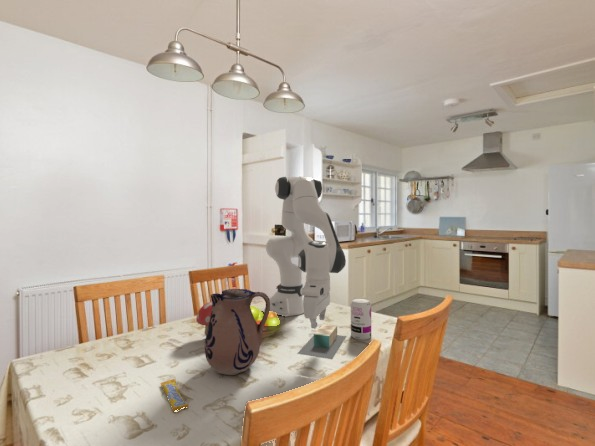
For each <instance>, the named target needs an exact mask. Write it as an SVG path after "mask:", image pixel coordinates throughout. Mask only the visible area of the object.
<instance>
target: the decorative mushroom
mask: <svg viewBox="0 0 595 446" xmlns="http://www.w3.org/2000/svg"><path fill="white" fill-rule="evenodd" d="M211 313H212V301H209V302H206V303H205V304H203V305H202V306H201V307H200V308H199V309H198V311H197V315H196V318H195V321H196V322H197V324H199V325H201V326H205V327H204V335H205V336H206V335H207V330H208V326H209V322H210V317H211Z"/></svg>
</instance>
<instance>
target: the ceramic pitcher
mask: <svg viewBox="0 0 595 446" xmlns="http://www.w3.org/2000/svg"><path fill="white" fill-rule="evenodd" d="M256 297H260V298H262V300H264V302H265V306H266V307H265V306H264V307H265V313H263V316H262V317H261V320H260V322H259V323H258V322H257V321H256V319H255V316H254V314H253V312H252V309H251V305H252V301H253V300H254V298H256ZM269 298H270V297H269V295H267V293H265V292H263V291H262V292H261V291H251V290H250V289H246V288H245V289H243V288H230V289H225V290H222V291H221V293H212V294H210V299H211V300H210V301H211V302H212V313H211V317H210V322H209V326H208V330H207V335H205V342H204V355H205V358H206V361H207V363H208V365H209V367H211V368H212V369H213V370H214V371H215V372H217V373H218V374H221V375H225V376H234V375H235V376H236V375H238V374H241V373H243V372H245V371H248V370H249V368H250V367H251V366H253V364H254V363H255V362H256V360H257V358H258V356H259V353H260V348H261V345H262V343H263V339H264V338H263V337H264V336H263V332H264V331H263V330H264V328H265V325H266V323H267V320H268V318H269V315H270V314H269V311H270V300H269Z"/></svg>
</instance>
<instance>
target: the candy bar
mask: <svg viewBox="0 0 595 446" xmlns="http://www.w3.org/2000/svg"><path fill="white" fill-rule="evenodd" d="M176 382H177V380H176V378H173V379H169V380H166V381H163V382H160V386H161V387H162V386H163V387H162V390H163V389H164V390H163V391H165V392H164V394H165V393H166V394H165V396H166V395H167V396H168V398H167V400H168V399H169V401H170V403H171V405H170V407H171V406H172V408H173V410H172V412H173V411H175V410H177V409H178V410H180V409H181V408H183V407H185V408H186V407H188V408H189V404H188V403H187V404H186V402H185V400H184V398H183V397H182V395H181V393H180V390H179V388H178V385H177V384H176ZM167 396H166V397H167ZM169 401H168V402H169ZM170 403H169V404H170ZM172 408H171V409H172ZM178 410H177V411H178Z"/></svg>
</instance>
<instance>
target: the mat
mask: <svg viewBox="0 0 595 446" xmlns="http://www.w3.org/2000/svg"><path fill="white" fill-rule="evenodd" d="M346 338H347V335H340V334H337V338H336V339H335V341H334V342H333V343H332V345H331V346H330V348H324V347H318V346H314V334H313V336H311V337H310V339H309V340H308V341H307V342H306V343H305V345H304V346H303V347H301V348H300V350H299V351H298V352H297V353H296V354H297V355H303V356H304V355H306V356H309V357H310V356H311V357H316V358H322V359H327V360H333V359H334V357H335V356H336V354H337V353H338V351H339V350H340V348H341V346H342V344H343V343H344V341H345V340H346Z"/></svg>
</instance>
